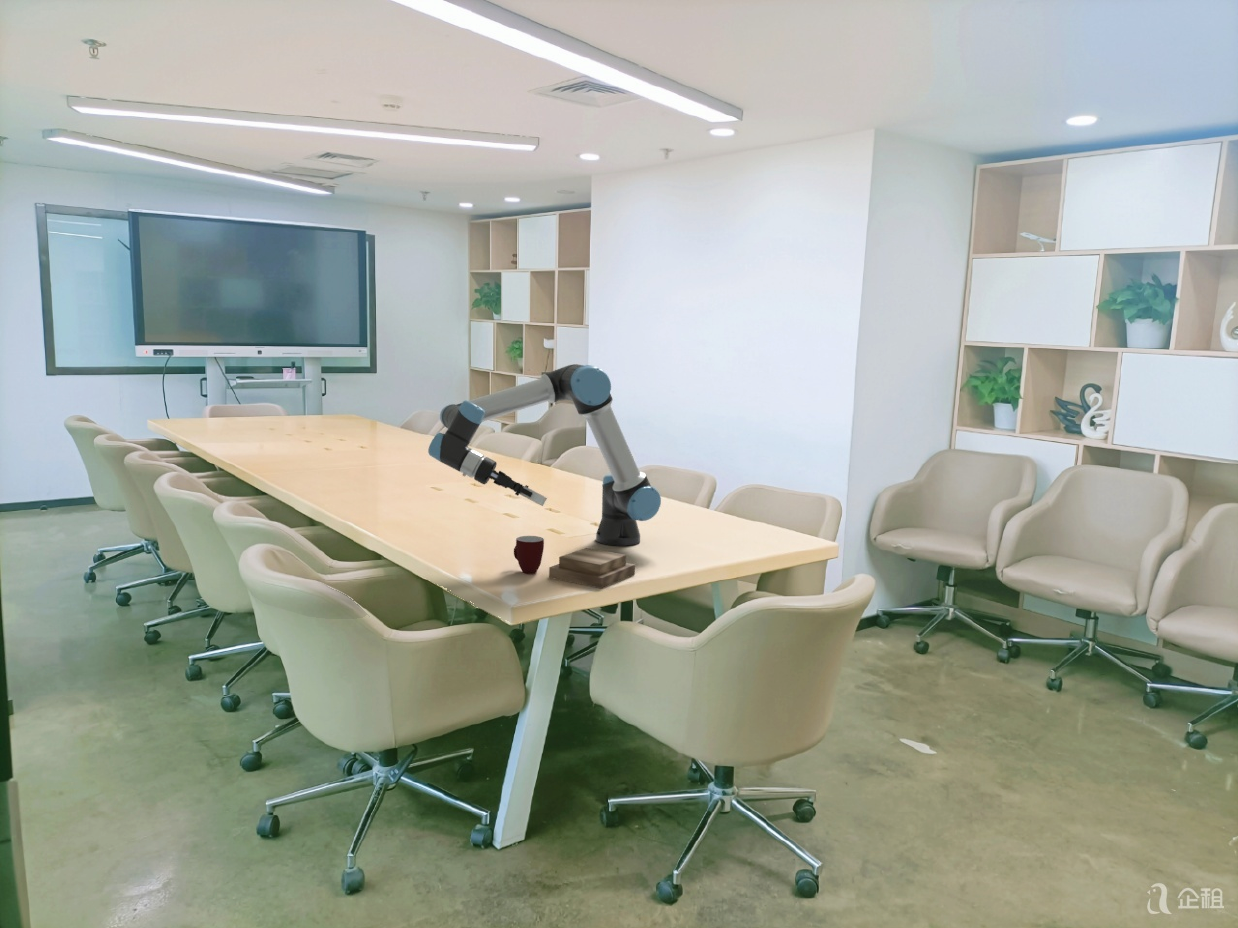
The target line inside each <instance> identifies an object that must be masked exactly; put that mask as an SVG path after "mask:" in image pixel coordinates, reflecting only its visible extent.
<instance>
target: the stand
mask: <svg viewBox="0 0 1238 928" xmlns="http://www.w3.org/2000/svg"><path fill="white" fill-rule="evenodd" d="M635 571H636V564H633V563H628V562H627V555H626V554H623V553H618V552H617V553H616V552H612V551H607V550H601V549H596V548H590V547H584V548H581V549H578V550H575V551H572V552H569V553H566V554H564V555H560V556H559V557H558V563H557V564H554V565H552V566H549V568H548V577H549V578H550V579H554V578H555V580H559V579H560V580H559V581H564V582H570V583H573V582H574V583H575V584H578V585H583V586H586V587H587V586H589V587H593V588H596V589H597V588H598V589H603V588H606V587H609V586H611V585H614V584H616V583H618V582H621V581H622V580H625V579H628V578H630V577H632V576H634V575H635V574H636V572H635Z"/></svg>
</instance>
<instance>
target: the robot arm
mask: <svg viewBox="0 0 1238 928" xmlns="http://www.w3.org/2000/svg"><path fill="white" fill-rule="evenodd" d="M611 383H612V382H611V380H610V377H609V375H608V373H606V372H605V371H604V370H603V369H601V368H599V367H597V366H595V365H589V364H588V365H587V364H585V365H583V364H577V363H576V364H568V365H565V366H563V367H560V368H558V369H555V370H552V371H549V372H547V373H543V374H542V375H541V376H540V378H537V379H535V380H531V381H528V382H525V383H522V384H518V385H514V386H511V387H508V388H505V389H503V390H499V391H495V392H493V393H489V394H487V395H482V396H480V397H477V398H473V399H469V400H463V401H462V402H461V403H457V404H456V403H455V404H448V405H445V406H444V407H443V408H442V409H441V411H440V414H439V420H440V422H441V424H442V425H443V426H444V427H445V429H447V430H446V431H445V433H443V432H437V433H436V434H435V435H434V437H433V438H432V440H431V442H430V443H429V446H428V451H427V452H428V455H429V456H430V457H431V458H433V459H435V460H436V461H438V462H440V463H442V464H444V465H446V466H448V467H450V468H452V469H454V470H456V471H457V472H459V473H461V475H462V477H466V476H467V477H469V478H473V479H474V481H476V482H478V483H480V484H482V485H487V484H488V482H490V480H493V483H494V484H495V485H497V486H500V487H503V488H505V489H507V488H509V489H510V490H512V491H513V492H515V493H514V495H516V496H518V497H519V495H520V496H521V497H524V498H525V499H527V500H530V501H532V502H534V503H536V504H538V506H541V507H543V506H544V505H545V504H546V501H547V499H548V497H547V496H544V495H542V494H540V493H538V492H537V491H535V490H533V489H531V488H530V487H529V485H527V484H525V485H523V484H522V483H520V482H517V481H515V480H514V479H513V478H512V477H510V476H509V475H507V474H506V473H505V472H503V471H502V470H498V471H497V470H496V468H497V461H495V460H493V459H491V458H489V457H488V456H487V457H486V456H485V455H484V454H483V453H480V452H478V451H477V450H475V449H473V448H471V447H469V445H470V443H471V441H472V439H473V437H474V436H475V435H476V432H477V430H478V429H479V427H480V425H481V424H482V423H483V422H486V421H490V420H493V419H495V418H499V417H502V416H505V415H508V414H511V413H515V412H518V411H521V410H525V409H526V408H530V407H534V406H537V405H540V404H543V403H547V402H549V403H550V404H555V403H557V402H561V401H572V403H573V405H574V407H575V408H576V411H577V413H578V415H579V416H583V417H584V418H585V419H586V422H587V424H588V426H589V428H590V430H591V433H592V435H593V437H594V439H595V441H596V444H597V446H598V448H599V450H600V452H601V454H602V458H603V459H604V461H605V464H606V466H607V467H608V470H609V471H610V472H609V473H610V474H606V475H605V476H603V478H602V479H603V480H602V486H601V488H602V494H601V495H602V497H601V498H602V499H601V501H602V503H601V504H602V505H601V506H602V507H601V519H600V523H599V525H598V528H597V530H596V534H595V540H596V542H597V543H599V544H603V545H608V546H617V547H618V546H634V545H637V544H640V542H641V533H640V529H639V526H638V523H637V521H639V522H645V521H646V522H647V521H649V520H651V519H653V518H654V517H655V516H656V515H657V513H658V512H659V510H660V507H661V503H662V498H661V494H660V492H659V491H658V490H657V489H656V488H655V487H654V486H651V483H650V481H649V479H648V477H647V474H646V472H643V471H641V470H639V467H638V466H637V463H636V460H635V459H634V456H633V454H632V452H631V449H630V447H629V445H628V443H627V440H626V439H625V436H624V434H623V432H622V429H621V427H620V425H619V423H618V419H617V417H616V416H615V413H614V411H613V409H612V407H611V406H612V404H613V401H614V400H613V397H612V393H611V390H612V384H611Z"/></svg>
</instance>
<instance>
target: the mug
mask: <svg viewBox="0 0 1238 928" xmlns="http://www.w3.org/2000/svg"><path fill="white" fill-rule="evenodd" d="M544 548H545V538H544V537H541V536H536V535H523V536H518V537H516V540H515V546H514V548H513V556H514V559H515V560H517V562H518V566H519V569H521V572H522V573H523V574H527V575H533V574H536V573H537V572H538V570H539V568H540V566H541V565H542V564H541V563H542V560H543V559H542V558H543V555H544V554H543V553H544Z"/></svg>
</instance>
